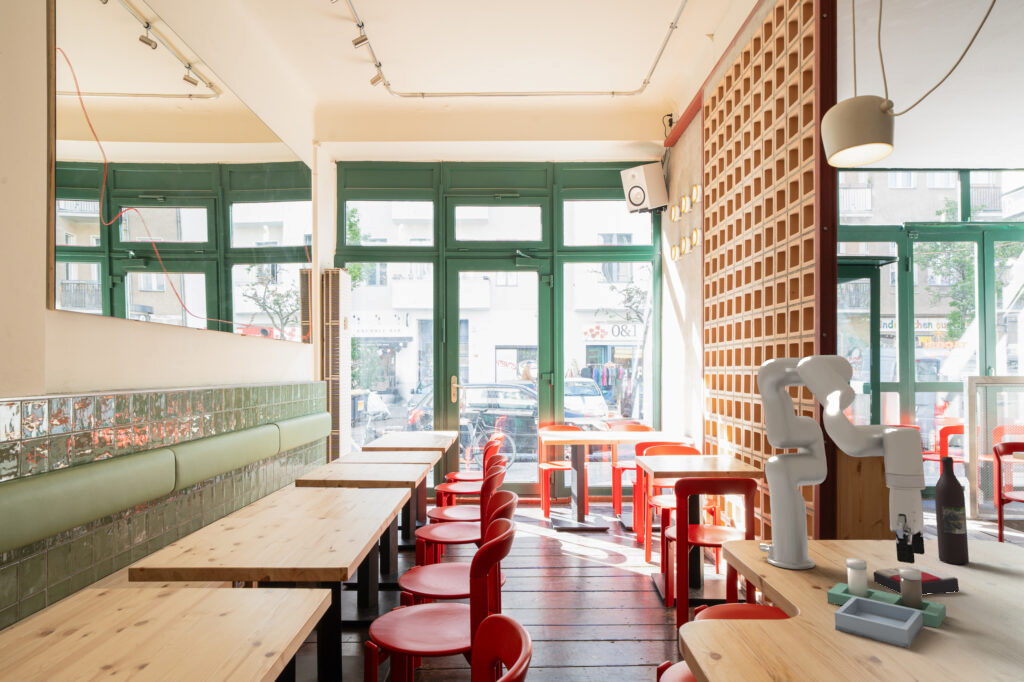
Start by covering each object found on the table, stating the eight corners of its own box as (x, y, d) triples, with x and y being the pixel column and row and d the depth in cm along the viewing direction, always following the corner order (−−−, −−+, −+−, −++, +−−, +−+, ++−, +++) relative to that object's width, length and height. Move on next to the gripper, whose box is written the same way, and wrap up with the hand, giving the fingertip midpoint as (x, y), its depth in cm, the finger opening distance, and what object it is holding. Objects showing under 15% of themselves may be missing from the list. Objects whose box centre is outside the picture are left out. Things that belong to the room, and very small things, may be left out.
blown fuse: (899, 615, 136) (896, 570, 137) (904, 610, 139) (901, 566, 140) (921, 620, 133) (918, 574, 134) (925, 615, 136) (922, 570, 137)
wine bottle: (942, 563, 172) (935, 458, 174) (936, 557, 179) (929, 455, 181) (972, 566, 169) (965, 459, 171) (964, 559, 176) (957, 455, 178)
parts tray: (835, 629, 130) (834, 612, 130) (854, 611, 139) (853, 596, 139) (908, 648, 120) (907, 630, 120) (923, 627, 130) (922, 610, 130)
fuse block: (827, 602, 145) (827, 591, 145) (839, 592, 151) (839, 582, 151) (937, 627, 129) (937, 616, 129) (946, 615, 136) (945, 604, 136)
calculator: (872, 568, 159) (922, 562, 161) (873, 585, 159) (924, 578, 161) (904, 582, 148) (958, 575, 150) (906, 600, 148) (960, 593, 150)
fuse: (846, 603, 144) (843, 560, 145) (851, 598, 147) (849, 557, 148) (866, 607, 141) (863, 564, 142) (871, 602, 144) (868, 560, 145)
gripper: (895, 475, 147) (901, 547, 145) (876, 484, 135) (882, 563, 133) (932, 478, 141) (939, 552, 140) (915, 487, 129) (922, 569, 128)
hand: (911, 557), depth 136 cm, fingers open, 9 cm apart
